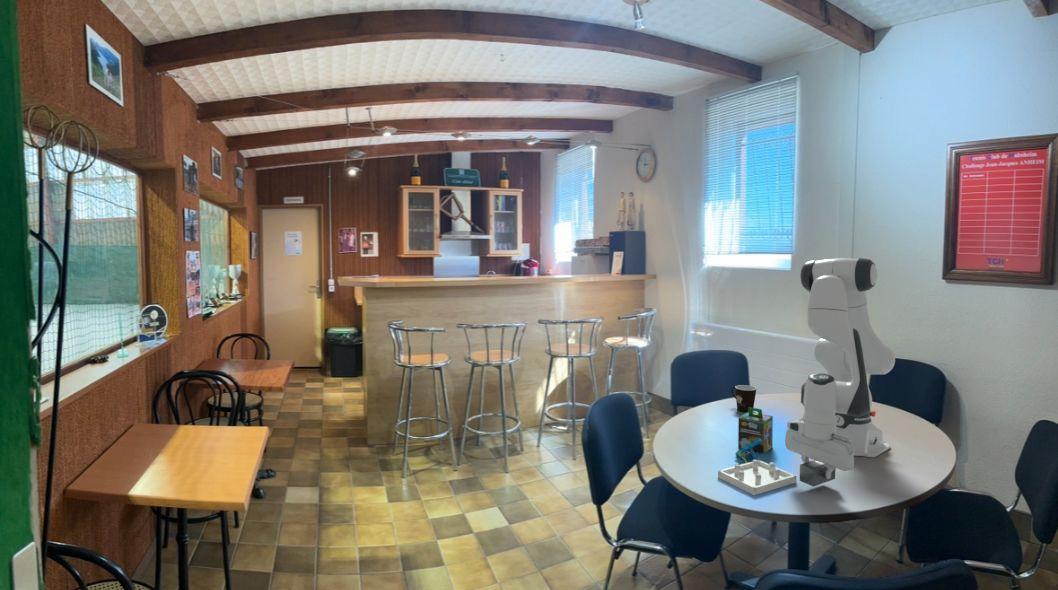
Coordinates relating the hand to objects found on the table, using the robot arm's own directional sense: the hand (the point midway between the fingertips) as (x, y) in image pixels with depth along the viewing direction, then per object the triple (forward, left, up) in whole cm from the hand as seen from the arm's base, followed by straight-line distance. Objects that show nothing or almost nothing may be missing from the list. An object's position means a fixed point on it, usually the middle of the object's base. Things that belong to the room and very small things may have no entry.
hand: (817, 474), depth 168 cm
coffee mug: (-41, -65, -4) cm, 77 cm away
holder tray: (+12, -12, -4) cm, 17 cm away
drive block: (0, 0, -2) cm, 2 cm away
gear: (+1, -26, -5) cm, 26 cm away
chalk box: (-9, -31, -4) cm, 33 cm away
